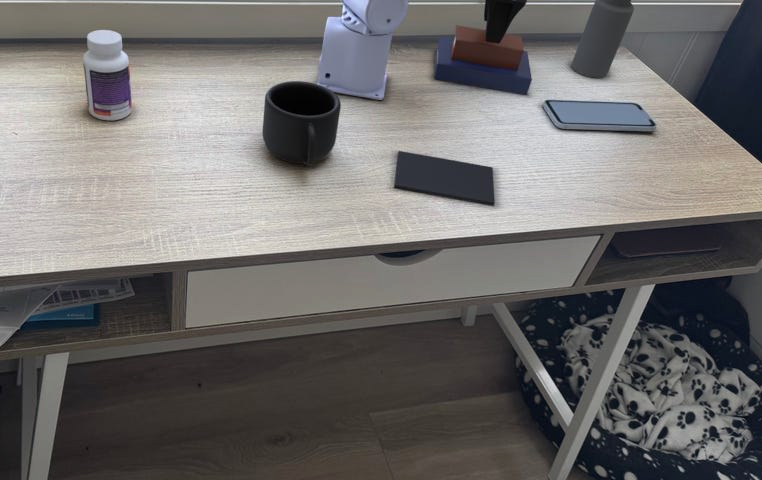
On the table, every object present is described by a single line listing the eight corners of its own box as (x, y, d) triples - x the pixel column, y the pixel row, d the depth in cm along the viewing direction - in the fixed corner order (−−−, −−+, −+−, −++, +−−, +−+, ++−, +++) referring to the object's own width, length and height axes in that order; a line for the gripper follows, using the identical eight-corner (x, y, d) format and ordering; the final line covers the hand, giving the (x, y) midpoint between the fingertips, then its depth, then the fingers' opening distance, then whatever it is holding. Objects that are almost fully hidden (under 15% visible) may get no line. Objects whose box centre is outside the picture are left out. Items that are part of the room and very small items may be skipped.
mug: (256, 131, 93) (260, 79, 89) (325, 131, 95) (332, 80, 90) (270, 185, 85) (275, 131, 80) (345, 184, 87) (354, 131, 82)
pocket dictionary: (451, 59, 110) (456, 39, 108) (451, 44, 114) (456, 25, 112) (517, 70, 109) (523, 51, 107) (515, 55, 113) (521, 36, 111)
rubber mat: (394, 187, 88) (394, 185, 87) (398, 153, 93) (398, 150, 93) (494, 205, 87) (494, 202, 87) (491, 169, 93) (492, 167, 93)
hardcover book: (433, 79, 110) (437, 63, 108) (435, 51, 117) (439, 36, 116) (526, 95, 109) (532, 79, 108) (522, 66, 117) (527, 51, 115)
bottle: (578, 58, 121) (614, -37, 111) (612, 70, 119) (652, -25, 109) (565, 69, 118) (601, -28, 107) (600, 81, 115) (640, -16, 105)
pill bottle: (140, 113, 94) (137, 39, 87) (105, 126, 91) (98, 50, 84) (115, 96, 96) (109, 23, 90) (79, 108, 93) (71, 33, 86)
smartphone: (541, 99, 107) (638, 102, 109) (539, 105, 108) (635, 108, 110) (558, 124, 102) (659, 127, 104) (556, 130, 102) (657, 133, 104)
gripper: (553, -46, 94) (521, 56, 103) (544, -78, 105) (515, 16, 114) (499, -54, 94) (471, 47, 104) (495, -86, 105) (470, 9, 114)
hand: (491, 31), depth 109 cm, fingers open, 7 cm apart
